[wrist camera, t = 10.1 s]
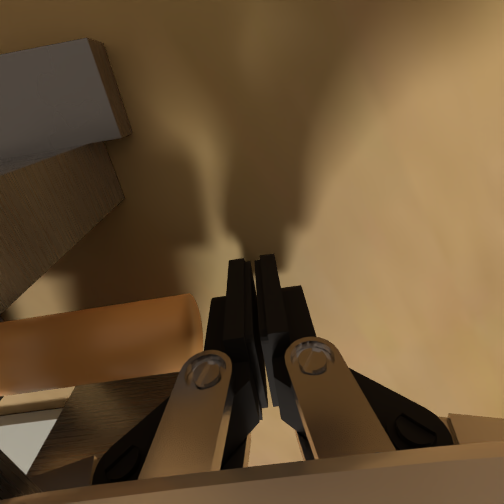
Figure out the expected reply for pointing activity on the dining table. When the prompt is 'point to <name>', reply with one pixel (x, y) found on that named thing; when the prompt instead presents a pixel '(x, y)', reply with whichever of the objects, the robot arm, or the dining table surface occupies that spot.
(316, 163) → the dining table surface
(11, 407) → the dining table surface
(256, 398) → the robot arm
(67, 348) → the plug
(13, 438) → the pad
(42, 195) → the housing
